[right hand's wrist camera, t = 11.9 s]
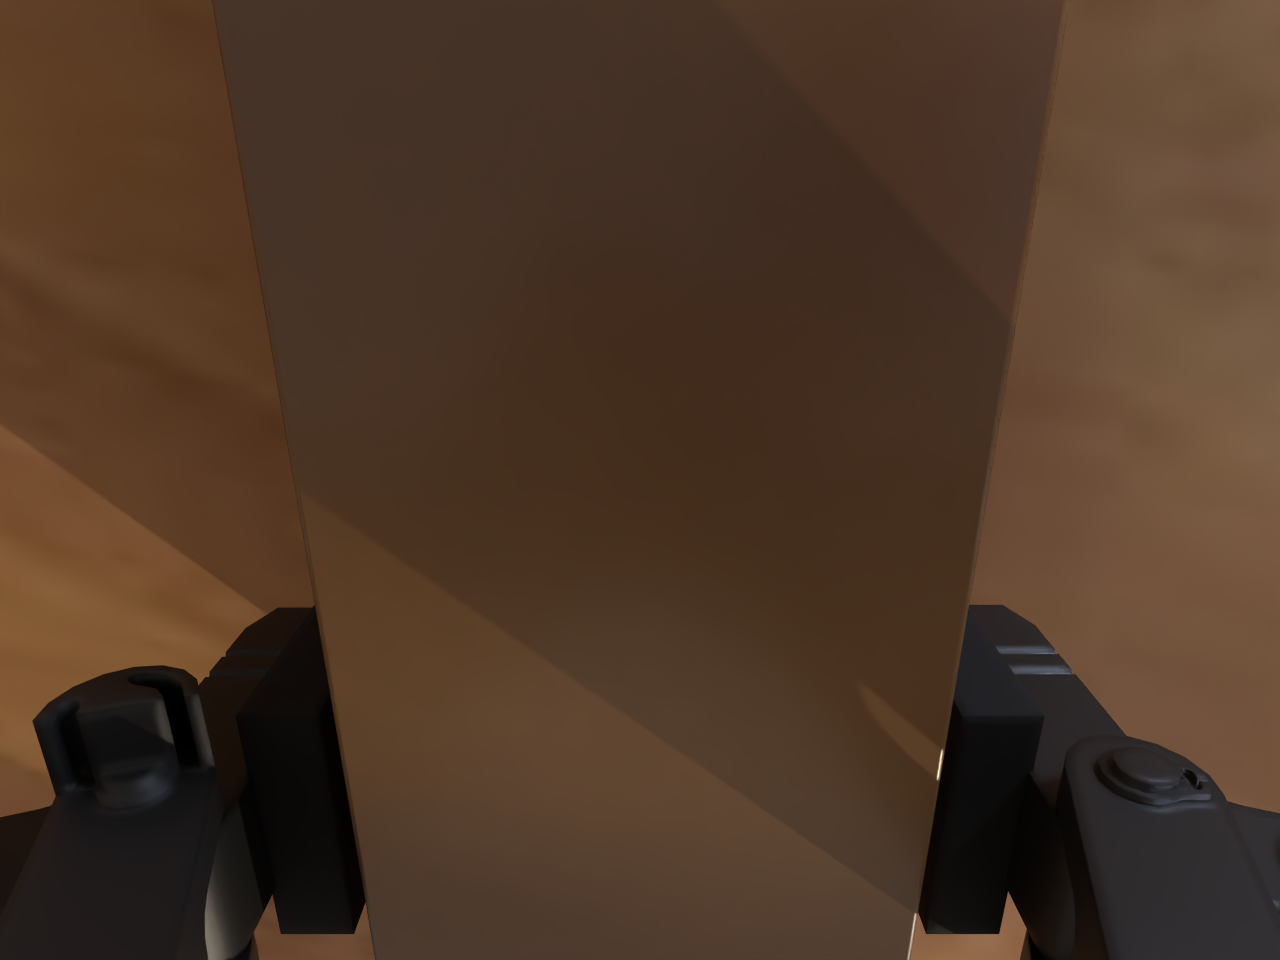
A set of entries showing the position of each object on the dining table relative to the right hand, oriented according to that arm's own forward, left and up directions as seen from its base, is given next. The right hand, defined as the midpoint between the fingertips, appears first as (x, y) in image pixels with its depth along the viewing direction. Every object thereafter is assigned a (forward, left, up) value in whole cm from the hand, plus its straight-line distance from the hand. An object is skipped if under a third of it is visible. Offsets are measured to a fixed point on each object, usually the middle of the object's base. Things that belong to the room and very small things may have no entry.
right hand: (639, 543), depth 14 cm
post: (-13, -14, -1) cm, 19 cm away
